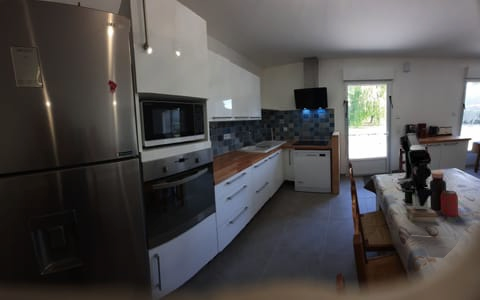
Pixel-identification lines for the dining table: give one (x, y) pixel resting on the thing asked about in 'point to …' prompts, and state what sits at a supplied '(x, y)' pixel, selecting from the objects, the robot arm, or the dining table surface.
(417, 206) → the sage block
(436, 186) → the bottle
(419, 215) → the slab top
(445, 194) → the beer can
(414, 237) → the dining table surface
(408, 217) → the mat
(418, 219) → the slab bottom
